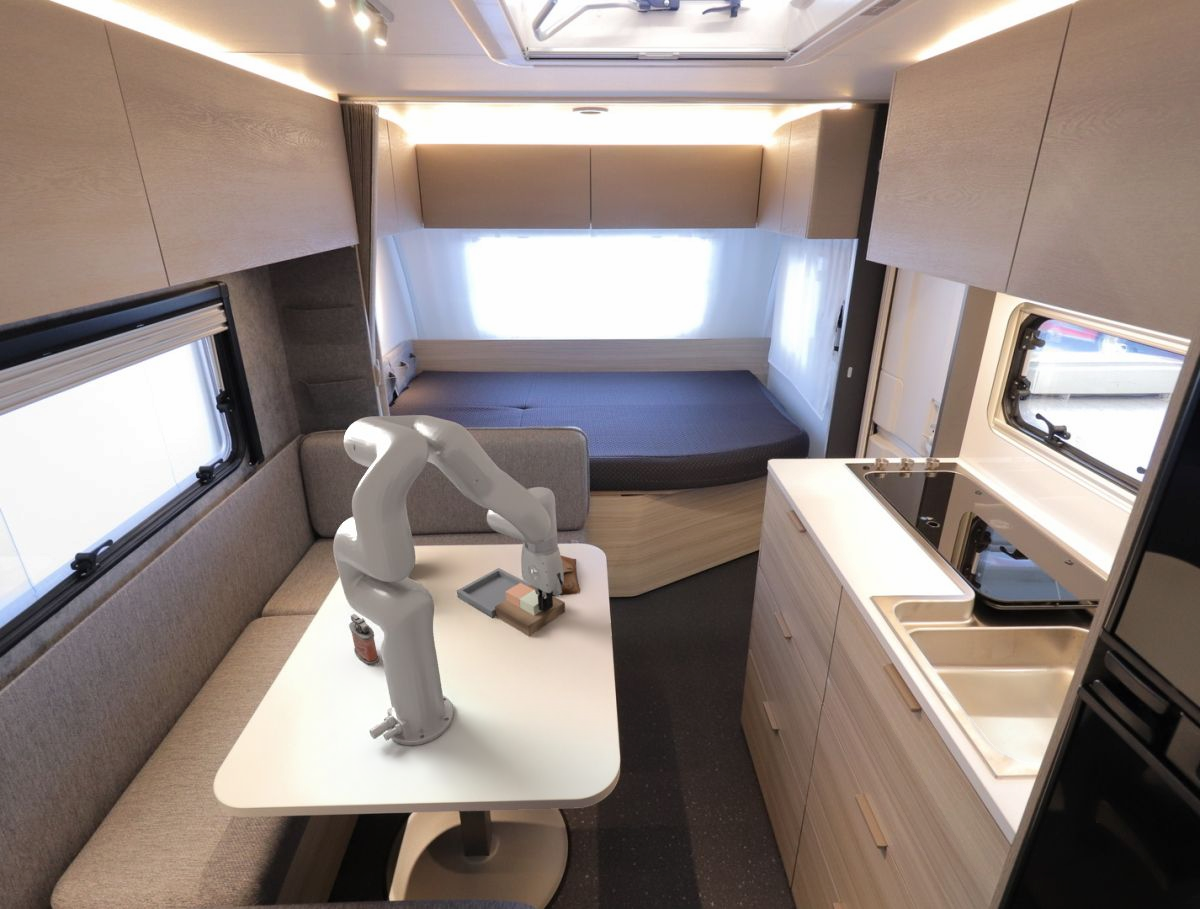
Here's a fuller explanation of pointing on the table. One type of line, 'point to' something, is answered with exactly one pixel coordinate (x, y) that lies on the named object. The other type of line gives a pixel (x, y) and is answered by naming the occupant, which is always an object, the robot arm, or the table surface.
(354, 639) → the lighter
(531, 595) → the pale green rectangular block
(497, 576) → the tray
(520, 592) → the tile
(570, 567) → the sunglasses case
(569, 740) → the table surface
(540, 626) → the brown square slab
